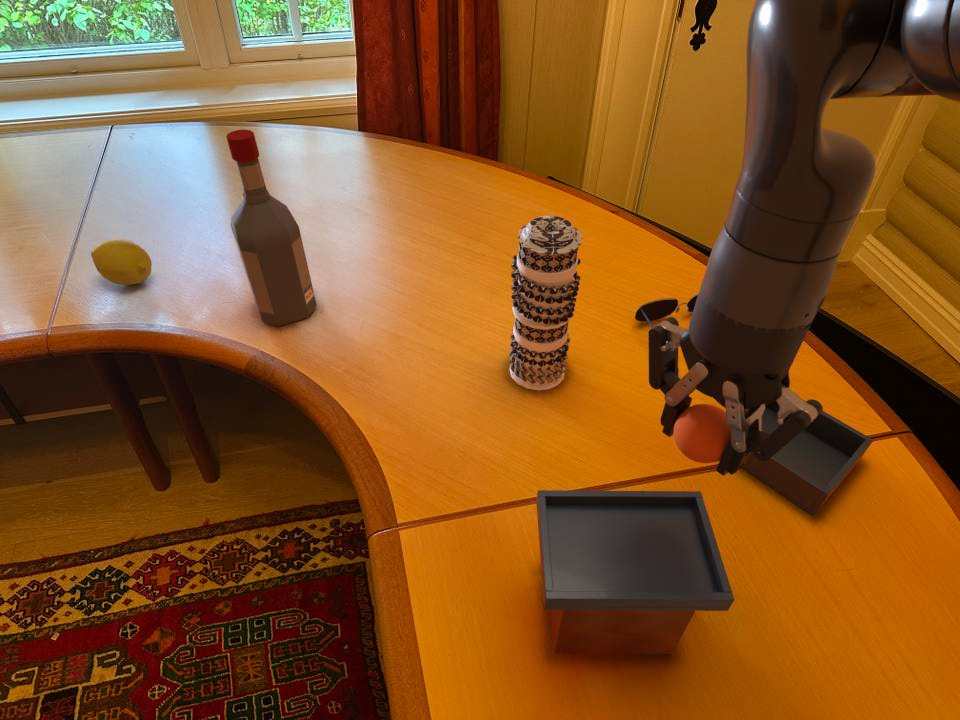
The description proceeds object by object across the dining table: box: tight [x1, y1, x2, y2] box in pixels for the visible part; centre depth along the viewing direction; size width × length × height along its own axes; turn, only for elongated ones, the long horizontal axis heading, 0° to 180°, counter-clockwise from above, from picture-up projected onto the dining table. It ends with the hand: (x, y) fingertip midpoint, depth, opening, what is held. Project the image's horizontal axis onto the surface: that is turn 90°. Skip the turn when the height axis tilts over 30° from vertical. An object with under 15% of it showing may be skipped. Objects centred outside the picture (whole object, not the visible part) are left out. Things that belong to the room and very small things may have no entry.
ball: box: [673, 403, 731, 464], centre depth 51 cm, size 5×5×5 cm
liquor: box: [226, 129, 317, 327], centre depth 93 cm, size 9×9×30 cm
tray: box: [535, 489, 735, 612], centre depth 56 cm, size 16×11×2 cm
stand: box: [550, 610, 696, 655], centre depth 61 cm, size 12×9×12 cm
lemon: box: [90, 238, 153, 286], centre depth 106 cm, size 11×8×8 cm
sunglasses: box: [634, 293, 699, 377], centre depth 95 cm, size 17×15×5 cm
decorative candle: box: [508, 215, 584, 391], centre depth 83 cm, size 9×9×25 cm
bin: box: [740, 399, 874, 517], centre depth 79 cm, size 14×12×5 cm
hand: (698, 448), depth 53 cm, fingers closed on ball, 5 cm apart
